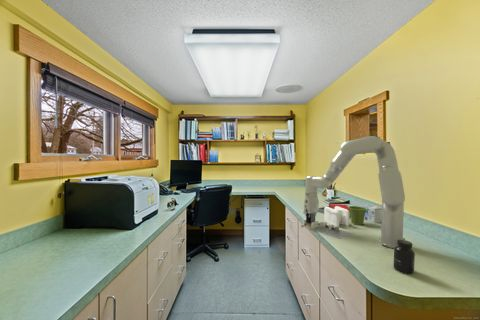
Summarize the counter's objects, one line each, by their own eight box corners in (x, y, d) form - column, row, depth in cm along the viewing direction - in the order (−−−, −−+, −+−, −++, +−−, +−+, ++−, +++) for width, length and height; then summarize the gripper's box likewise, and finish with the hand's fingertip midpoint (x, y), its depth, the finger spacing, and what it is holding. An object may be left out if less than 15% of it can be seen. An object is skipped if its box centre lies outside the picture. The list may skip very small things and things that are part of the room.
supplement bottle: (391, 270, 86) (392, 241, 86) (394, 264, 91) (395, 237, 91) (413, 277, 81) (414, 246, 81) (415, 270, 86) (416, 241, 86)
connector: (315, 223, 137) (315, 212, 137) (311, 224, 135) (311, 213, 135) (310, 222, 140) (310, 211, 140) (306, 223, 138) (306, 211, 138)
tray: (362, 213, 174) (363, 210, 174) (344, 218, 159) (344, 214, 159) (336, 207, 194) (336, 204, 194) (317, 211, 179) (317, 208, 179)
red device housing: (352, 215, 166) (352, 209, 166) (333, 214, 169) (333, 208, 169) (345, 210, 184) (345, 204, 184) (328, 209, 187) (328, 203, 187)
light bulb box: (361, 218, 160) (362, 204, 160) (368, 218, 162) (369, 204, 162) (374, 223, 150) (375, 208, 149) (381, 222, 152) (382, 207, 151)
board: (353, 236, 123) (353, 228, 123) (339, 241, 116) (339, 232, 116) (314, 223, 146) (314, 216, 146) (301, 227, 138) (301, 220, 138)
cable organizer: (350, 228, 138) (350, 210, 138) (336, 228, 136) (336, 211, 136) (336, 221, 152) (336, 205, 152) (323, 221, 151) (323, 205, 150)
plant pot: (362, 221, 153) (362, 206, 153) (369, 226, 141) (370, 210, 141) (345, 220, 155) (345, 205, 155) (351, 225, 143) (351, 209, 143)
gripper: (307, 196, 129) (307, 226, 130) (324, 194, 139) (323, 221, 139) (298, 194, 136) (297, 222, 136) (314, 192, 145) (313, 218, 145)
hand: (310, 221), depth 137 cm, fingers closed on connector, 4 cm apart
